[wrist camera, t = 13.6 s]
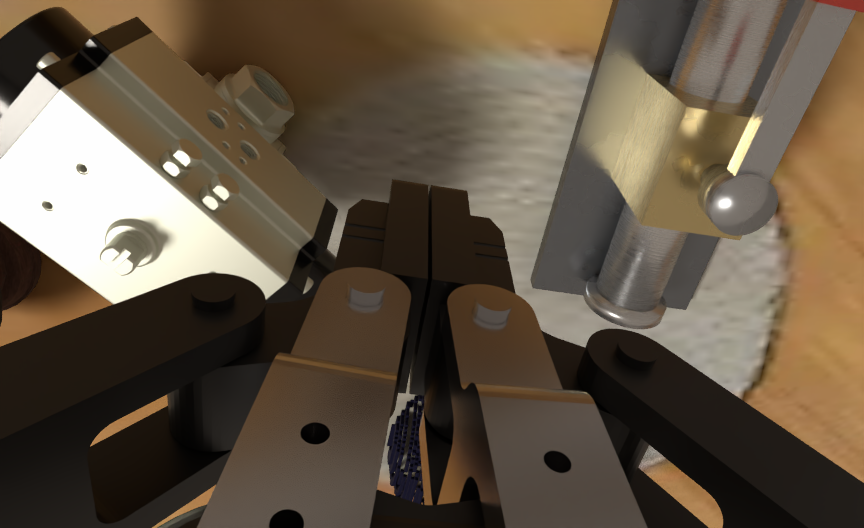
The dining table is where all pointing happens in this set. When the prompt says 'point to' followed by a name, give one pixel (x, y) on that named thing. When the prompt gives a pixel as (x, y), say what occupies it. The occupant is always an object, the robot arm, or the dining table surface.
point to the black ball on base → (16, 268)
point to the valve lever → (775, 120)
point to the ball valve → (151, 164)
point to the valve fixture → (656, 150)
